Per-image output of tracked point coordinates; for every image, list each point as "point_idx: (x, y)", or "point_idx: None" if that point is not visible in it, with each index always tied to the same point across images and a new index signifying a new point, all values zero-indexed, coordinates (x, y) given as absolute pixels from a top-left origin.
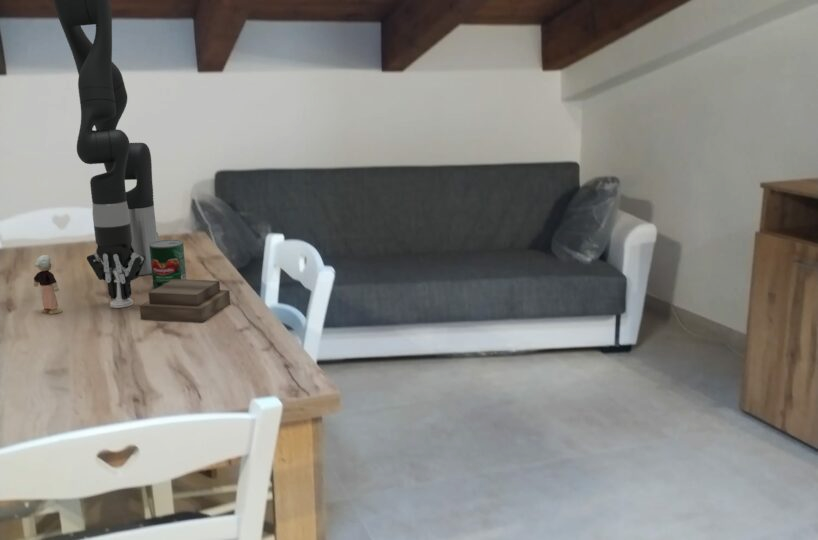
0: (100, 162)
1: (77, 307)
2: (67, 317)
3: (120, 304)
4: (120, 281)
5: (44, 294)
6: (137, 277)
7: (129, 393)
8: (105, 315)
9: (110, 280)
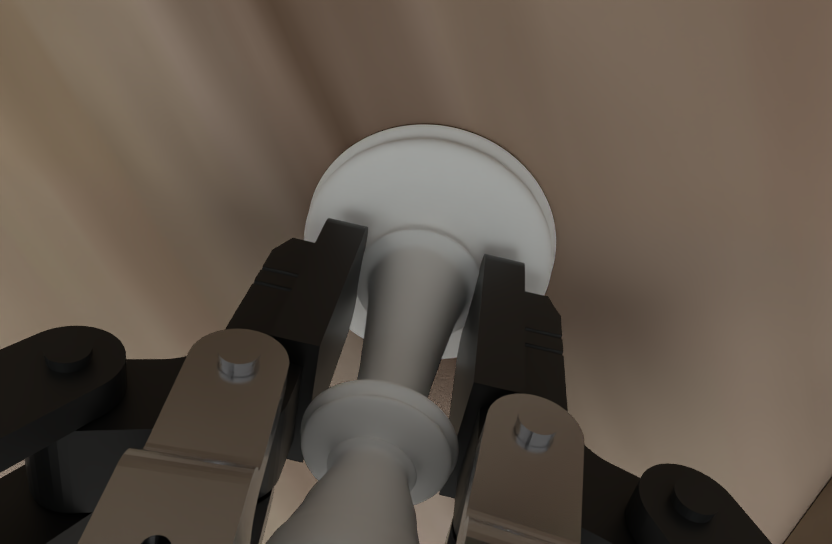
0: None
1: (17, 278)
2: None
3: (456, 357)
4: (430, 492)
5: None
6: (721, 498)
7: None
8: None
9: (271, 496)
